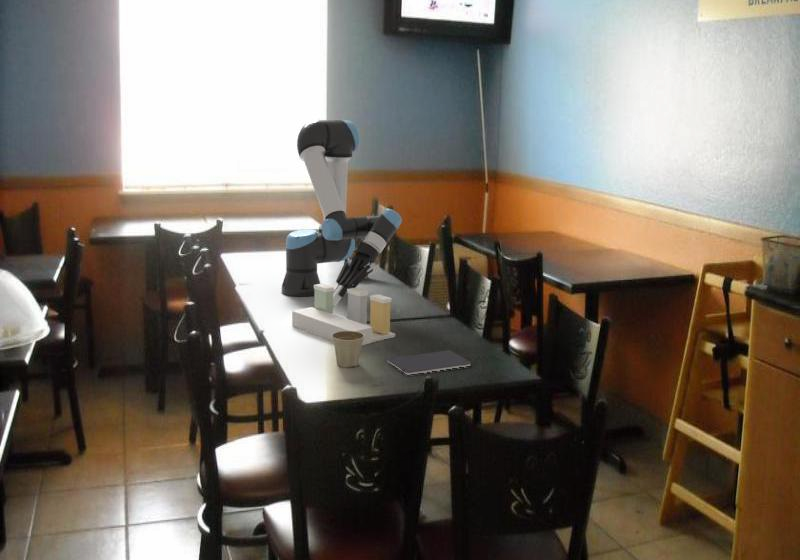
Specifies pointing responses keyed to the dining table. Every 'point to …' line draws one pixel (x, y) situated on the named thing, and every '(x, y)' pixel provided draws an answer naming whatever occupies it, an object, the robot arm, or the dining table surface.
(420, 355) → the notebook
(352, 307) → the grey tall block
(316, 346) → the dining table surface
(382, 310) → the yellow tall block
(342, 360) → the flower pot
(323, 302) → the pale green tall block
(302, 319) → the keypad base
